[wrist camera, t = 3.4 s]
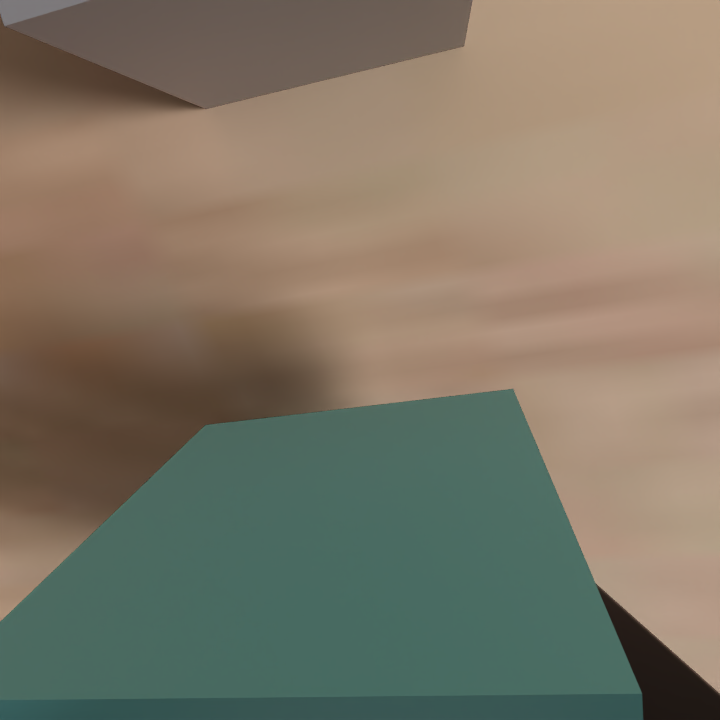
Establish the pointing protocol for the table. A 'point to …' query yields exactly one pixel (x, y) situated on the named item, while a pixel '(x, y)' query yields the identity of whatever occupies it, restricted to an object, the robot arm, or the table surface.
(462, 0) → the gray cube
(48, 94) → the table surface
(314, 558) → the teal cube
